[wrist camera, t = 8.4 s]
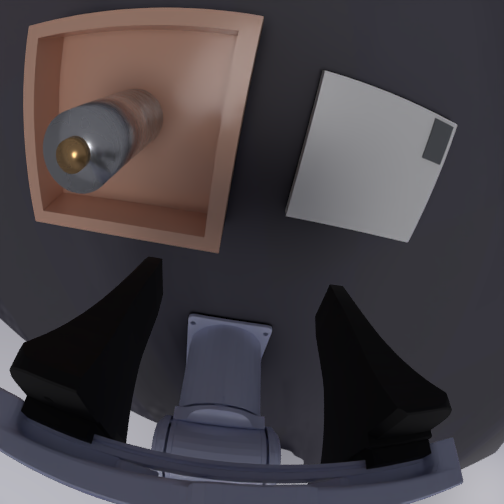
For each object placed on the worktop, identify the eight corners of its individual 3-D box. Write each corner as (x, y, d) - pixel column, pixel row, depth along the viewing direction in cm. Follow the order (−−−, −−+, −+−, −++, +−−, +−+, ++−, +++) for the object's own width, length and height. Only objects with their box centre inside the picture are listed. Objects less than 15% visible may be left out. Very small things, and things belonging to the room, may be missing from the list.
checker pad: (403, 236, 22) (408, 243, 21) (285, 210, 21) (286, 217, 20) (451, 122, 16) (458, 125, 15) (322, 70, 15) (325, 70, 14)
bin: (224, 224, 22) (218, 253, 19) (58, 199, 20) (35, 221, 18) (263, 25, 13) (263, 16, 11) (59, 26, 12) (29, 26, 9)
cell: (160, 150, 18) (110, 203, 12) (106, 145, 17) (41, 194, 11) (166, 90, 15) (110, 111, 9) (108, 88, 15) (34, 112, 9)
